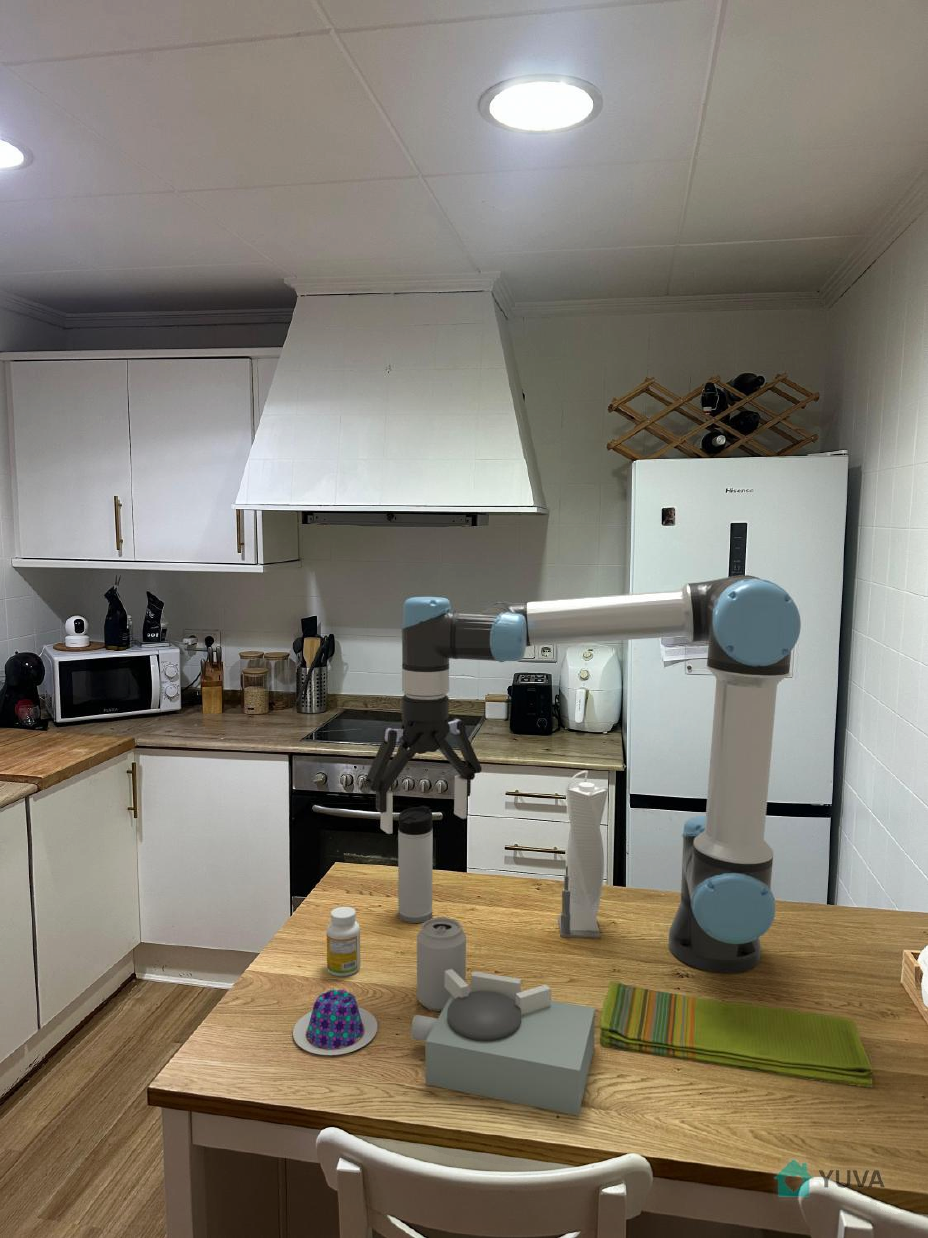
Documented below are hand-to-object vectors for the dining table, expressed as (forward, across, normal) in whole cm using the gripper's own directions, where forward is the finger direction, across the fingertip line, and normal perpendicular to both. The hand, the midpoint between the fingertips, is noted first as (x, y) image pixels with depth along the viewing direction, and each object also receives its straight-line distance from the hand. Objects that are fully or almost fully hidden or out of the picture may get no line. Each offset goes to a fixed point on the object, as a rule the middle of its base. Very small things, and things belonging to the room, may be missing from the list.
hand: (424, 823), depth 137 cm
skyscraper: (+24, -31, +3) cm, 39 cm away
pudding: (+25, +20, +10) cm, 33 cm away
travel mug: (+24, -7, -16) cm, 30 cm away
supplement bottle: (+24, +12, -5) cm, 28 cm away
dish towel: (+25, -28, +39) cm, 54 cm away
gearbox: (+24, +4, +28) cm, 37 cm away
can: (+24, +3, +11) cm, 27 cm away
